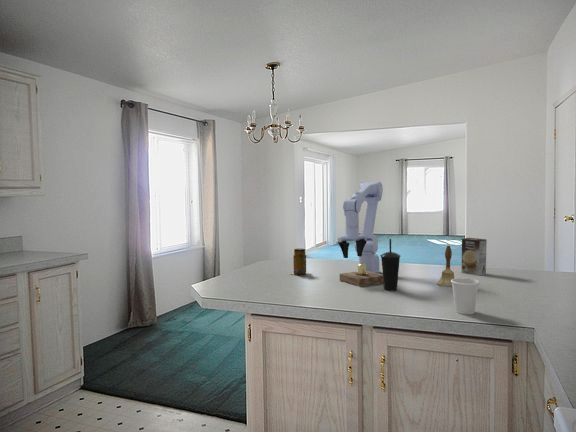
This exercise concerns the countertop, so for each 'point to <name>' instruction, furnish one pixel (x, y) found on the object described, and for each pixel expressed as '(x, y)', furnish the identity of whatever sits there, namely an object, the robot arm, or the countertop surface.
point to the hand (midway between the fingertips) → (352, 257)
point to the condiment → (299, 262)
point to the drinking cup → (390, 269)
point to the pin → (362, 269)
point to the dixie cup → (465, 295)
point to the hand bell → (447, 270)
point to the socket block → (361, 278)
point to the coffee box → (474, 256)
